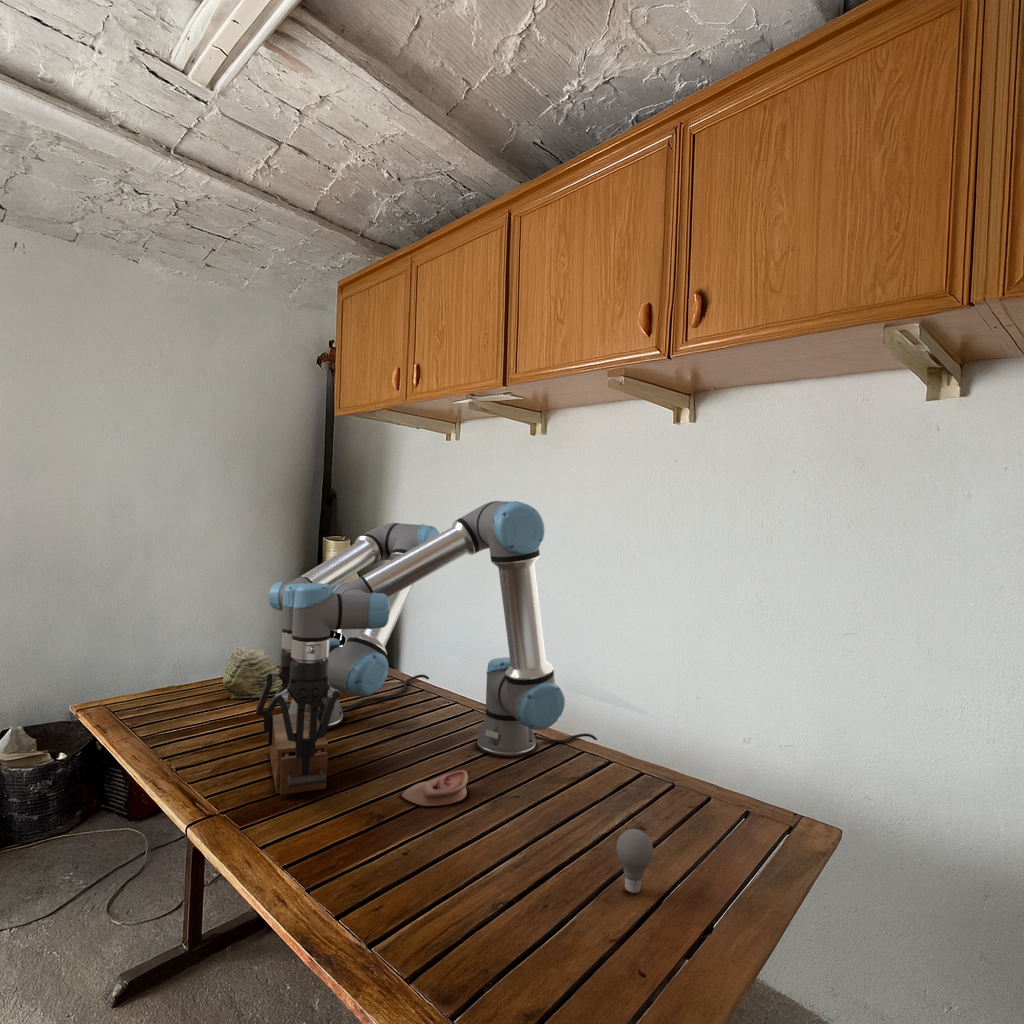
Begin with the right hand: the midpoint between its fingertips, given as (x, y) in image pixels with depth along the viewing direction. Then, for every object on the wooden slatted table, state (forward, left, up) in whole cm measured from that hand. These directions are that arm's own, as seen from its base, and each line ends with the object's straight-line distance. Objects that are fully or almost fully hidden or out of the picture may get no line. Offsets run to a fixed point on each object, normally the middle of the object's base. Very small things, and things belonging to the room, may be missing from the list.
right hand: (304, 772), depth 131 cm
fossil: (+10, -76, -6) cm, 77 cm away
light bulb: (-49, +47, -6) cm, 69 cm away
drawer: (0, -10, -5) cm, 11 cm away
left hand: (+1, -23, -2) cm, 23 cm away
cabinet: (0, -16, -6) cm, 17 cm away
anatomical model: (-27, +5, -6) cm, 28 cm away
